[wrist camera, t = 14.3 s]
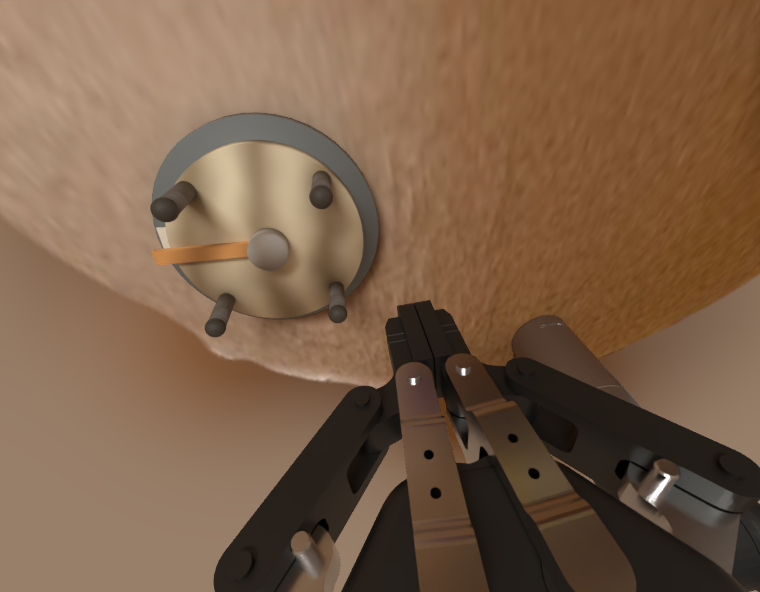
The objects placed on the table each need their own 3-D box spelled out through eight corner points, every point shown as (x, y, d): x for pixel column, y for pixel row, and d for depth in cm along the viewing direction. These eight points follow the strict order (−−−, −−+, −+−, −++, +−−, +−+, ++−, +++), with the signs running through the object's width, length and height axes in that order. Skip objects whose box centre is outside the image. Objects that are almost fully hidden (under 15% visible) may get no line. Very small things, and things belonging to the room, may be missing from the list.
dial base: (373, 305, 48) (375, 315, 46) (194, 314, 44) (189, 324, 43) (380, 116, 34) (383, 119, 32) (122, 108, 31) (109, 111, 29)
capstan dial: (354, 132, 32) (361, 151, 26) (367, 299, 44) (374, 340, 37) (119, 148, 30) (64, 172, 24) (197, 318, 42) (174, 364, 36)
